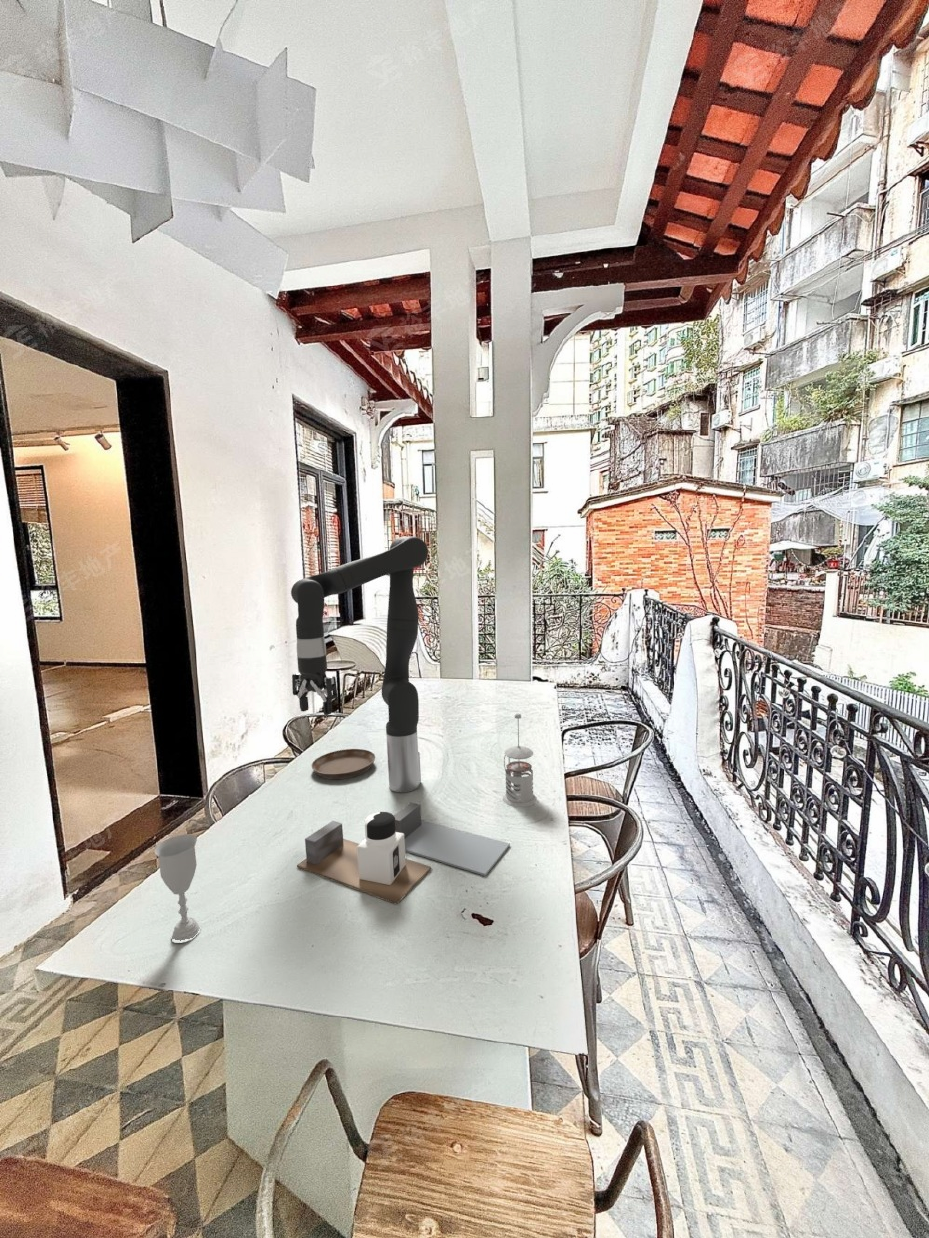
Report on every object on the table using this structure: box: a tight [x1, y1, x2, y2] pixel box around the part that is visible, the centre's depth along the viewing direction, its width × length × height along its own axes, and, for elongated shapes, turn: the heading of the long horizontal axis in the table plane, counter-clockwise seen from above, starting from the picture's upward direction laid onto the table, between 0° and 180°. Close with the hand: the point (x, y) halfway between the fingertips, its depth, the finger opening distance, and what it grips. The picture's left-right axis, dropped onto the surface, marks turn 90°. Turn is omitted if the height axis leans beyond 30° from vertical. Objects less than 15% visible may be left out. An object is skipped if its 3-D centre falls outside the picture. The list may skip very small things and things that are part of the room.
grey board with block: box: [393, 801, 511, 877], centre depth 123 cm, size 13×28×6 cm, turn 61°
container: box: [357, 811, 407, 885], centre depth 112 cm, size 8×8×13 cm
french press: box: [502, 713, 538, 808], centre depth 145 cm, size 10×12×25 cm
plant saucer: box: [311, 748, 376, 780], centre depth 170 cm, size 21×21×3 cm
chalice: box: [154, 833, 201, 941], centre depth 96 cm, size 7×7×18 cm
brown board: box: [296, 820, 432, 905], centre depth 115 cm, size 13×28×6 cm, turn 61°
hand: (316, 712), depth 139 cm, fingers open, 8 cm apart
